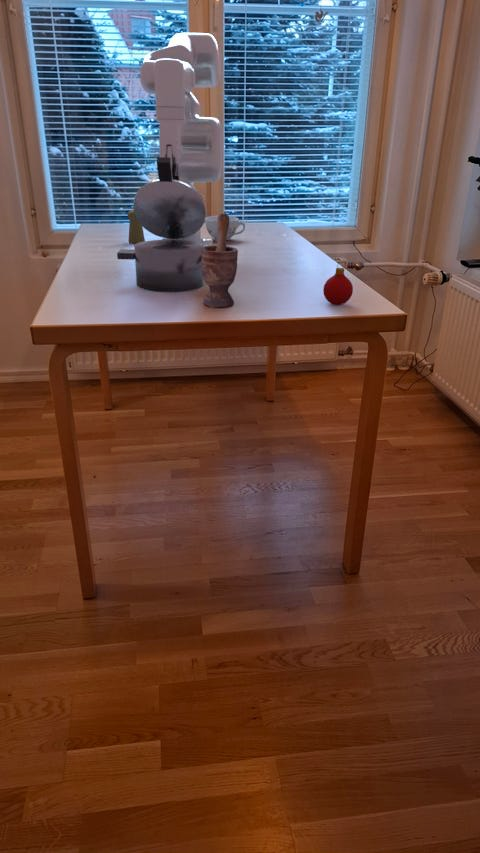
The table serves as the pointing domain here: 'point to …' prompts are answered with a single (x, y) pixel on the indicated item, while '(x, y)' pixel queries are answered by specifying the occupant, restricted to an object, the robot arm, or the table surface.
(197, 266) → the pot
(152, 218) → the lid
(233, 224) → the teacup
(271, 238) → the table surface
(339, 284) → the christmas ornament
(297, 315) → the table surface
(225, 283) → the mortar and pestle
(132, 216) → the olive green tall piece
